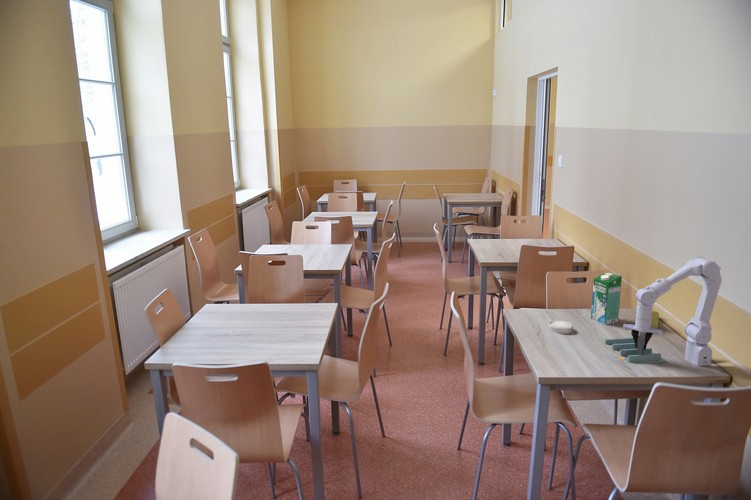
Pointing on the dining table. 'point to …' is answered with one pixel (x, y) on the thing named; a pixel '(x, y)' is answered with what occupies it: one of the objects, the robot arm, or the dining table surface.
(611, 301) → the milk carton
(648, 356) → the slot rack
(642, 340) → the panel
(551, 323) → the ramekin
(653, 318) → the plastic component
